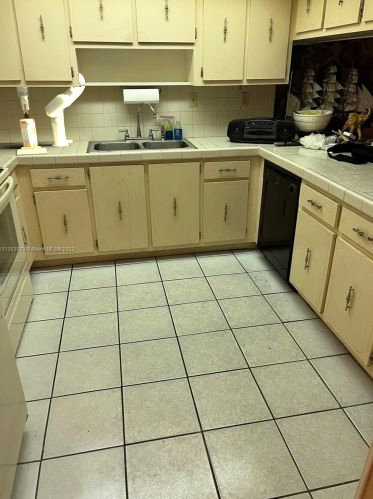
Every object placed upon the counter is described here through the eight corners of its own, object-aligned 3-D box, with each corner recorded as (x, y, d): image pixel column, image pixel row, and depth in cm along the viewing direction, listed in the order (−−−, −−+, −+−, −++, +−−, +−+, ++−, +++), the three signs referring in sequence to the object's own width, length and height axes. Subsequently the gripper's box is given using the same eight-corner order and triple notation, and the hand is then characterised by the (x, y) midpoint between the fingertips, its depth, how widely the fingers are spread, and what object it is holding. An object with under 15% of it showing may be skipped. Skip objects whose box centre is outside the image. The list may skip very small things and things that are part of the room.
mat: (45, 148, 284) (45, 146, 284) (47, 153, 263) (46, 151, 263) (17, 149, 277) (17, 147, 277) (16, 155, 257) (16, 153, 256)
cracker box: (31, 149, 281) (27, 120, 272) (23, 149, 281) (18, 120, 272) (38, 146, 294) (34, 118, 285) (31, 146, 294) (26, 118, 285)
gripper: (28, 94, 278) (32, 120, 285) (28, 94, 290) (32, 118, 298) (17, 94, 275) (21, 120, 283) (17, 94, 288) (22, 118, 295)
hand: (27, 119), depth 290 cm, fingers closed
